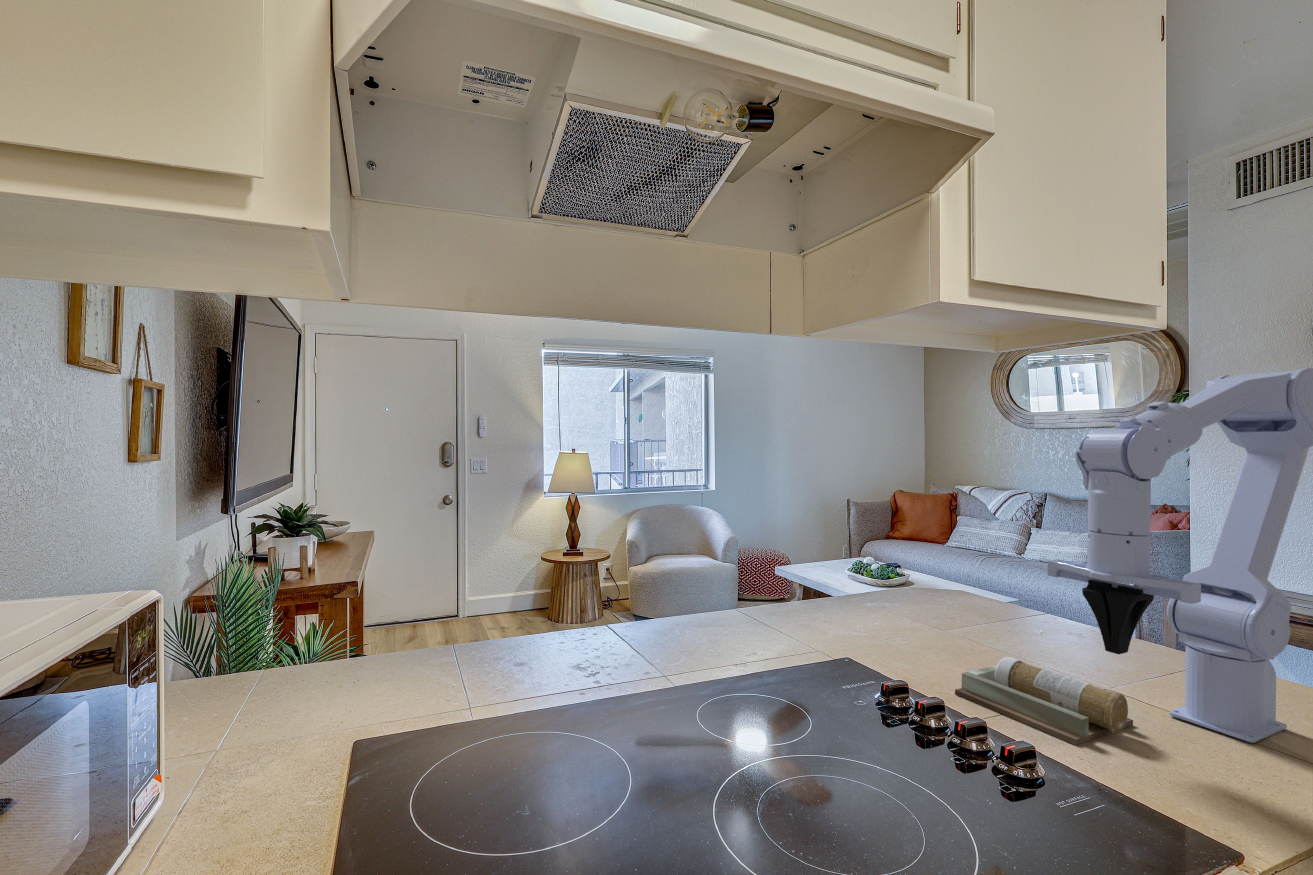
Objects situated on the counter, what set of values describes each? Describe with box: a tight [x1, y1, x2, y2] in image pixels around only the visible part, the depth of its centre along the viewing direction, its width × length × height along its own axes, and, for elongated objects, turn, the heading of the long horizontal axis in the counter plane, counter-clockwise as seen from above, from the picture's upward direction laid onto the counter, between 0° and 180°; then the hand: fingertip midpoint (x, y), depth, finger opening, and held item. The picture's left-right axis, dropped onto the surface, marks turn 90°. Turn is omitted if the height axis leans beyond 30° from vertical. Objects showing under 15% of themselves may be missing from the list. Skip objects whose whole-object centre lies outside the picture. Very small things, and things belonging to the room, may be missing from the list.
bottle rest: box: [954, 664, 1134, 746], centre depth 77 cm, size 12×15×3 cm
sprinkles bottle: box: [995, 656, 1129, 734], centre depth 75 cm, size 5×5×13 cm
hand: (1116, 651), depth 69 cm, fingers closed
